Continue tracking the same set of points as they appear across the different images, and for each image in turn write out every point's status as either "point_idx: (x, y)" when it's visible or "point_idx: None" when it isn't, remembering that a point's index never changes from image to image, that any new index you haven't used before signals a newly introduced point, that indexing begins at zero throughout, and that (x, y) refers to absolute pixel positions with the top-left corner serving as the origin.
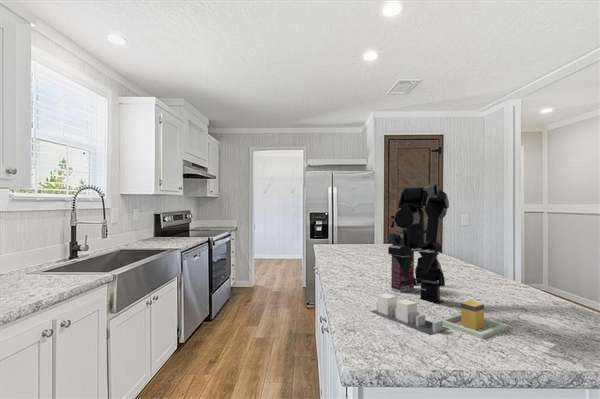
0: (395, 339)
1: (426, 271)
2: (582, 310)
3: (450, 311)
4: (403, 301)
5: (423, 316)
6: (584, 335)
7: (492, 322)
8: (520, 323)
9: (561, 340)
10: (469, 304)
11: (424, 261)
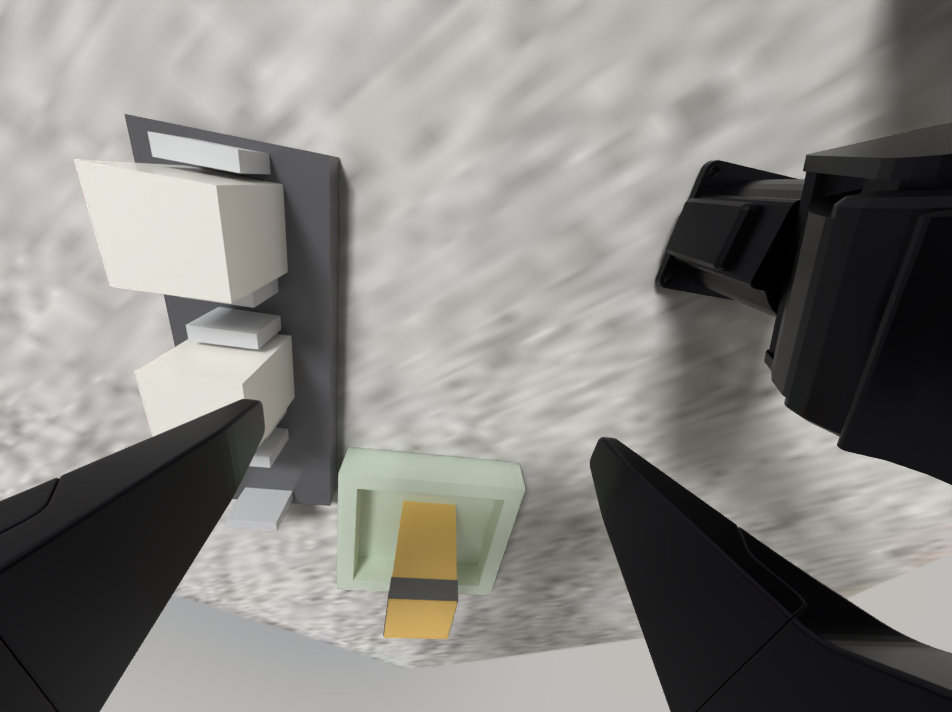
0: (94, 406)
1: (596, 492)
2: (842, 596)
3: (599, 386)
4: (185, 400)
5: (259, 462)
6: (609, 633)
7: (483, 565)
8: (611, 555)
9: (537, 622)
10: (394, 621)
11: (696, 588)
